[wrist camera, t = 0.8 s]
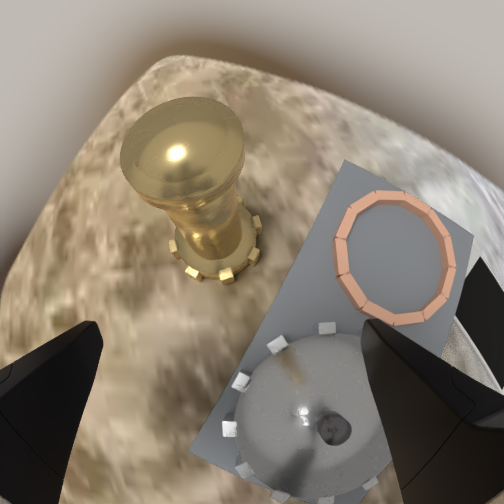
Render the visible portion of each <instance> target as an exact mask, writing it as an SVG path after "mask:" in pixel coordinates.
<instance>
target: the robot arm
mask: <svg viewBox="0 0 504 504" xmlns="http://www.w3.org/2000/svg"><path fill="white" fill-rule="evenodd" d="M360 344H361V349H362V354H363V358H364V363H365V368H366V372H367V377H368V382H369V385H370V388H371V392H372V395H373V398H374V401H375V404H376V407H377V410H378V413H379V416H380V419H381V423H382V426H383V429H384V432H385V436H386V439H387V442H388V446H389V449H390V453H391V456H392V460H393V463H394V467H395V471H396V474H397V478H398V482H399V486H400V490H401V494H402V498H403V502H404V504H504V395H502V394H500V393H498V392H497V391H495V390H493V389H491V388H489V387H487V386H485V385H483V384H481V383H480V382H478V381H476V380H474V379H472V378H471V377H469V376H468V375H466V374H464V373H463V372H461V371H459V370H458V369H456V368H455V367H452V366H451V365H450V364H449V363H447V362H445V361H444V360H442V359H441V358H439V357H438V356H436V355H435V354H433V353H431V352H430V351H428V350H427V349H425V348H424V347H422V346H421V345H419V344H417V343H416V342H414V341H413V340H411V339H410V338H408V337H406V336H405V335H403V334H402V333H400V332H399V331H397V330H395V329H394V328H392V327H391V326H389V325H388V324H386V323H384V322H383V321H381V320H380V319H378V318H371V319H366V320H365V322H364V325H363V330H362V334H361V339H360ZM102 349H103V338H102V336H101V333H100V330H99V327H98V325H97V323H96V322H95V321H87V320H86V321H83V322H82V323H80V324H78V325H76V326H75V327H73V328H71V329H69V330H68V331H66V332H64V333H62V334H61V335H59V336H57V337H55V338H54V339H52V340H50V341H49V342H47V343H45V344H43V345H42V346H40V347H38V348H37V349H35V350H33V351H31V352H30V353H28V354H26V355H25V356H23V357H21V358H20V359H18V360H16V361H14V362H13V363H11V364H9V365H8V366H6V367H4V368H3V369H1V370H0V504H58V503H59V499H60V494H61V490H62V486H63V481H64V480H63V479H64V477H65V473H66V469H67V465H68V461H69V458H70V454H71V451H72V447H73V444H74V440H75V437H76V434H77V430H78V427H79V424H80V421H81V418H82V415H83V412H84V409H85V406H86V403H87V400H88V397H89V394H90V391H91V388H92V386H93V382H94V379H95V376H96V372H97V368H98V364H99V360H100V356H101V352H102Z"/></svg>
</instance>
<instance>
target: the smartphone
mask: <svg viewBox="0 0 504 504" xmlns="http://www.w3.org/2000/svg"><path fill="white" fill-rule="evenodd" d="M453 322H454V323H455V325H456V326H457V328H458V329H459V331H460V332H461V334H462V335H463V337H464V338H465V340H466V341H467V343H468V344H469V346H470V347H471V349H472V350H473V352H474V354H475V355H476V357H477V358H478V360H479V361H480V363H481V365H482V366H483V368H484V370H485V371H486V373H487V375H488V376H489V378H490V380H491V382H492V383H493V385H494V387H495V389H496V390H497V392H498V393H500V394H502V395H504V289H503V287H502V285H501V284H500V282H499V281H498V279H497V277H496V276H495V274H494V273H493V271H492V270H491V268H490V267H489V265H488V264H487V262H486V261H485V259H484V258H483V257H482V255H481V254H480V252H479V251H478V250H477V248H476V247H475V245H474V244H473V243H472V248H471V253H470V258H469V263H468V268H467V272H466V276H465V280H464V284H463V288H462V292H461V296H460V299H459V303H458V306H457V310H456V313H455V316H454V319H453Z"/></svg>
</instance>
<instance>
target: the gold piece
mask: <svg viewBox="0 0 504 504" xmlns="http://www.w3.org/2000/svg"><path fill="white" fill-rule="evenodd" d="M244 160H245V147H244V134H243V128H242V124H241V122H240V120H239V118H238V117H237V115H236V114H235V113H234V112H233V111H232V110H231V109H230V108H229V107H227V106H226V105H224V104H223V103H221V102H218V101H216V100H213V99H209V98H204V97H184V98H178V99H174V100H170V101H167V102H165V103H162V104H160V105H158V106H156V107H154V108H153V109H151V110H149V111H148V112H146V113H145V114H144V115H143V116H141V117H140V118H139V119H138V120H137V121H136V122H135V123H134V124H133V126H132V127H131V128H130V130H129V131H128V133H127V135H126V136H125V139H124V141H123V144H122V147H121V152H120V164H121V169H122V172H123V174H124V176H125V178H126V179H127V181H128V182H129V183H130V185H131V186H132V187H133V189H134V190H135V191H136V192H137V194H138V195H139V196H140V197H141V198H142V199H143V200H144V201H145V202H147V203H149V204H150V205H152V206H154V207H157V208H160V209H164V210H165V211H166V212H167V214H168V215H169V217H170V218H171V220H172V221H173V223H174V224H175V226H176V230H175V240H171V241H169V245H170V250H171V253H172V254H173V255H174V256H175V257H176V258H177V259H179V258H182V260H183V261H184V262H185V263H186V264H187V265H188V267H187V269H186V271H185V272H186V273H187V274H188V275H189V276H190V277H192V278H193V279H195V280H197V281H199V282H201V280H202V278H203V277H205V278H209V279H221V281H222V283H223V285H226V284H229V283H232V282H235V279H234V275H236V274H238V273H239V272H240V271H242V270H243V269H244V268H245V267H246V266H247V265H248V264H249V265H251V266H253V267H254V266H255V264H256V262H257V261H258V259H259V257H260V250H259V249H257V248H256V236H258V235H262V224H261V221H260V218H259V215H257V216H254V217H252V216H251V214H250V213H249V211H248V210H247V209H246V208H245V207H244V201H243V198H242V197H240V196H237V191H236V184H235V181H236V180H237V178H238V176H239V175H240V173H241V170H242V168H243V164H244Z"/></svg>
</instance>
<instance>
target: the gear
mask: <svg viewBox="0 0 504 504" xmlns="http://www.w3.org/2000/svg"><path fill="white" fill-rule="evenodd" d="M362 330H363V329H361V330H360V331H359V333H358V335H357V336H355V335H351V334H342V333H336V324H335V322H326V323H317V324H313V335H311V336H307V337H303V338H299V339H297V340H294V341H292V342H289V343H287V342H286V341H285V339H284V337H283V336H282V335H280V336H278V337H276V338H275V339H273V340H272V341H270V342H268V343H267V344H266V345H267V346H268V348H269V350H270V351H271V354H269V355H268V356H267V357H266V358H265V359H264V360H263V361H262V362H260V364H259V365H258V366H257V367H256V368H255V369H254V370H253V372H252V373H251V374H250V373H248V372H246V371H244V370H242V369H241V371H240V372H239V374H238V376H237V378H236V379H235V381H234V383H233V384H232V386H231V387H232V388H234V389H236V390H238V391H240V392H241V394H240V397H239V400H238V403H237V406H236V411H235V414H225V417H224V419H223V421H222V425H223V437H235V441H236V445H237V449H238V452H239V454H240V455H239V456H237V457H236V462H235V467H234V468H235V469H236V470H237V471H238V473H239V474H240V475H241V477H242V478H243V479H245V478H247V477H249V476H251V475H254V476H255V477H256V478H257V479H258V480H260V481H261V482H262V483H263V484H265V485H266V486H268V487H269V491H270V498H272V499H275V500H278V501H280V502H283V503H285V501H286V500H287V499H288V498H289V496H293V497H299V498H313V499H316V502H317V504H334V496H337V495H340V494H343V493H346V492H349V491H351V490H354V489H356V488H358V487H360V486H363V488H364V489H365V490H366V491H367V490H368V489H370V488H371V487H373V486H374V485H376V484H377V483H379V481H378V480H377V478H376V477H375V476H376V475H378V474H379V473H380V472H381V471H382V470H383V469H384V468H385V467H386V466H387V465H388V464H389V463H390V462H391V460H392V456H391V453H390V449H389V446H388V442H387V439H386V436H385V432H384V429H383V426H382V423H381V419H380V416H379V413H378V410H377V407H376V404H375V401H374V398H373V395H372V392H371V388H370V385H369V382H368V377H367V372H366V368H365V363H364V358H363V354H362V349H361V344H360V339H361V334H362Z"/></svg>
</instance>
